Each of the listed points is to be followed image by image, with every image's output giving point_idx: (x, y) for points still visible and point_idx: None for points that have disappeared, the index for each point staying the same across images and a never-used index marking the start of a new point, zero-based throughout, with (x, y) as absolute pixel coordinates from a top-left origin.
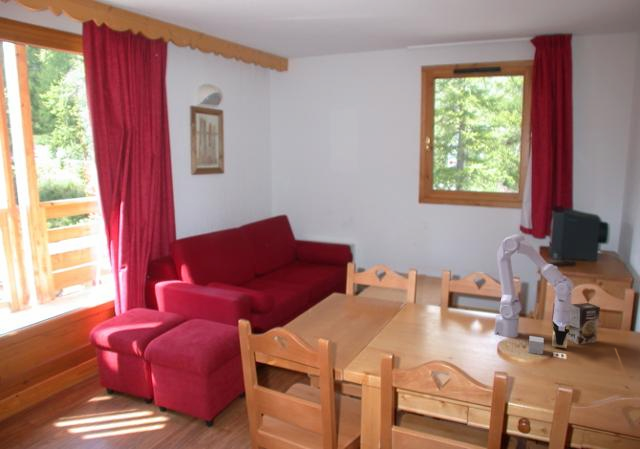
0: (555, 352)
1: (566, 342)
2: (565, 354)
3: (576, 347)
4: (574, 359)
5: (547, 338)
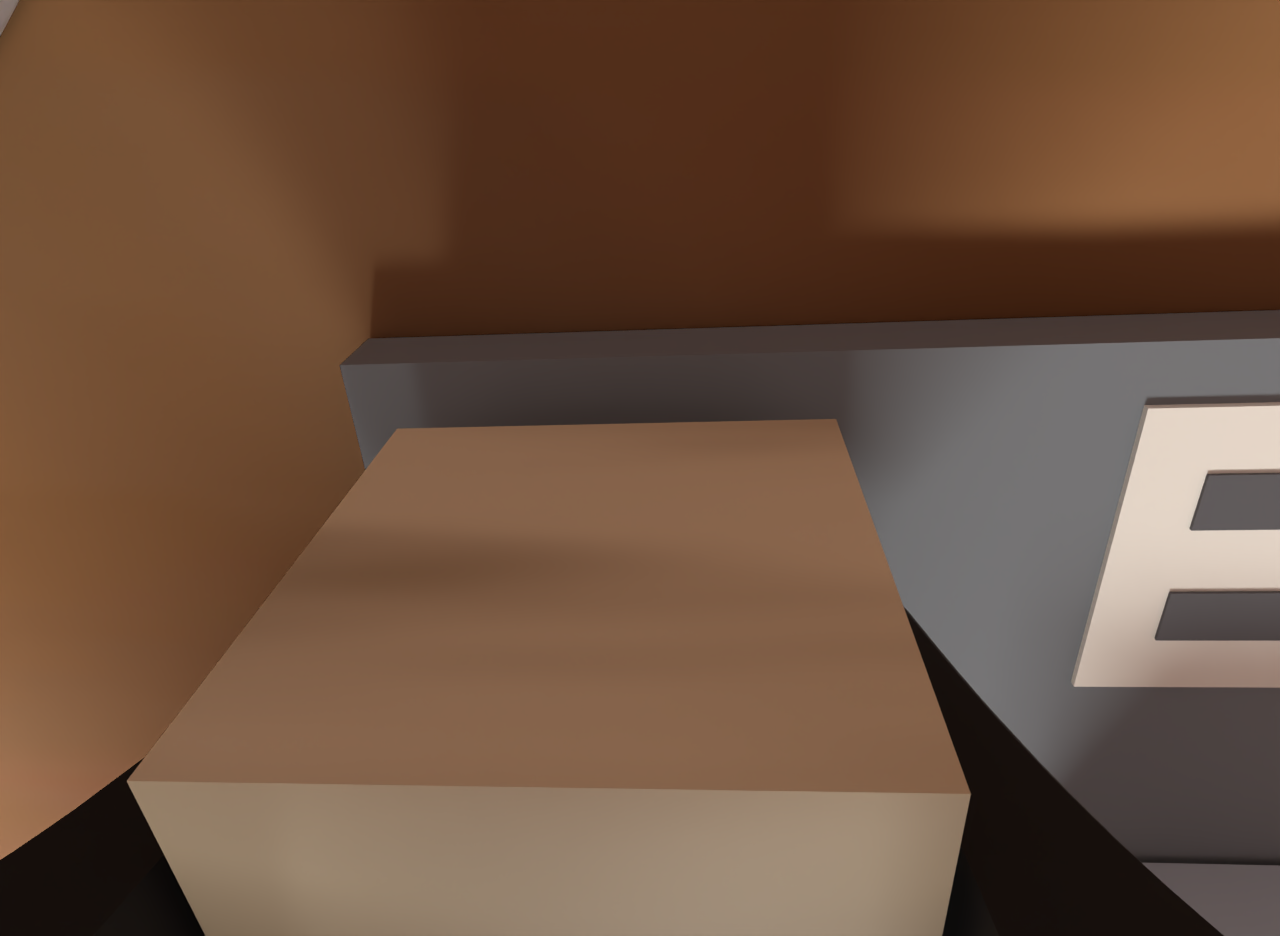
0: (1089, 644)
1: (878, 560)
2: (1178, 417)
3: (150, 39)
4: (1266, 122)
5: (78, 705)
